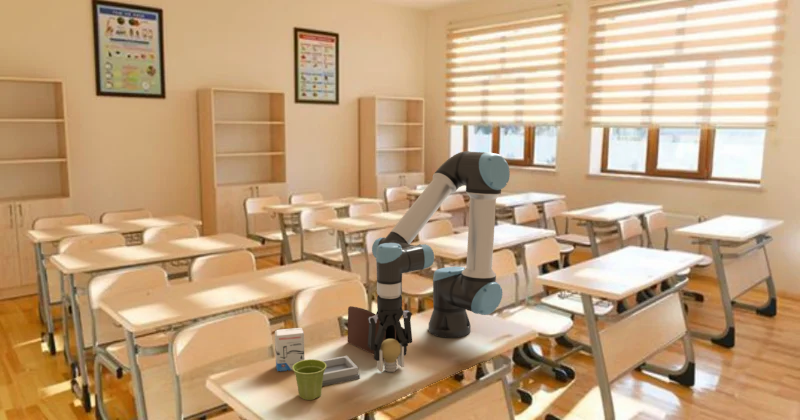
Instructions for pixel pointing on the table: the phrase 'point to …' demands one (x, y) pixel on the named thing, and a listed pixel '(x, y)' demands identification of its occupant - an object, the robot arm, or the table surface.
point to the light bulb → (390, 354)
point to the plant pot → (309, 378)
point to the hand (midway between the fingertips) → (390, 367)
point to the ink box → (289, 348)
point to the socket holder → (339, 370)
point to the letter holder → (365, 328)
